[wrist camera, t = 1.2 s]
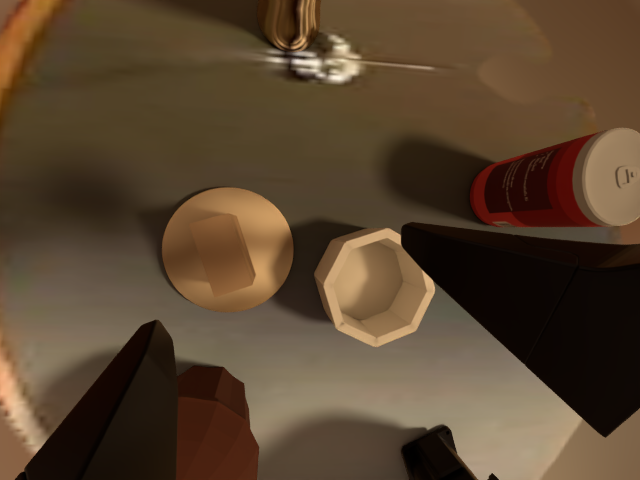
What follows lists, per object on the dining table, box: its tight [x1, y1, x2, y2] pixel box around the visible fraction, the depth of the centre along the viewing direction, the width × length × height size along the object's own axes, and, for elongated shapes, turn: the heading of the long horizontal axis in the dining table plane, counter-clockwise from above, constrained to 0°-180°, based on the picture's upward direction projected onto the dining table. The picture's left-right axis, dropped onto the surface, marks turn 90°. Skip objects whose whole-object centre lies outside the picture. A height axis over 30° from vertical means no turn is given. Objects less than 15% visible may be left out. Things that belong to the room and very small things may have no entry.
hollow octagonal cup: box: [314, 228, 435, 347], centre depth 24 cm, size 10×10×5 cm
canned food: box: [470, 128, 640, 227], centre depth 24 cm, size 8×8×11 cm
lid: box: [162, 187, 294, 312], centre depth 22 cm, size 12×12×6 cm
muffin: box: [176, 366, 259, 480], centre depth 19 cm, size 12×11×10 cm
